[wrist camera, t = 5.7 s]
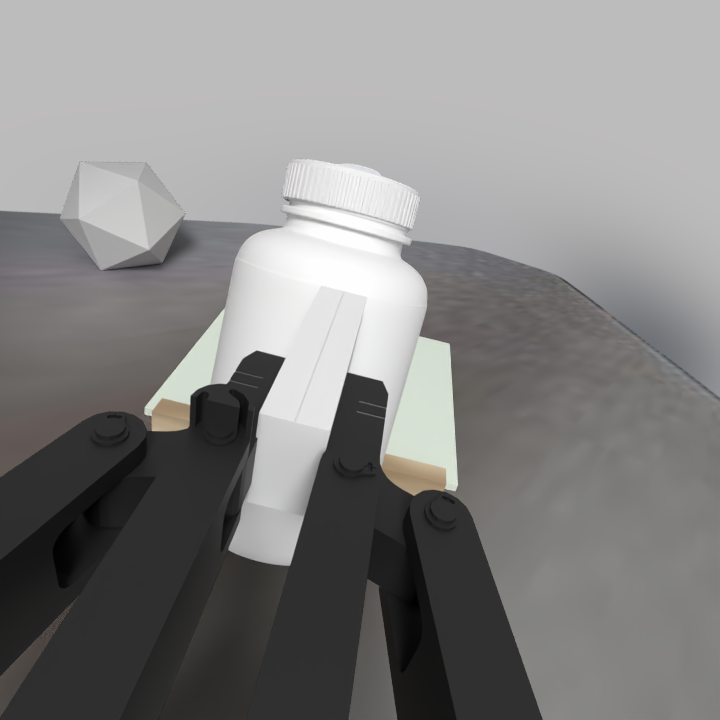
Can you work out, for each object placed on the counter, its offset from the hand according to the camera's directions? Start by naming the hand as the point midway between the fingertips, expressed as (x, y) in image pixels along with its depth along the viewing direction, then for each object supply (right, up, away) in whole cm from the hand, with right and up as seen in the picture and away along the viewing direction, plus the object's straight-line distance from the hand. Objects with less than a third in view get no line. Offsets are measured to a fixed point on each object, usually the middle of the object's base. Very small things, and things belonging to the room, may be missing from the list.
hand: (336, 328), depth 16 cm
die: (-19, +7, +27) cm, 34 cm away
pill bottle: (-3, -8, +6) cm, 11 cm away
